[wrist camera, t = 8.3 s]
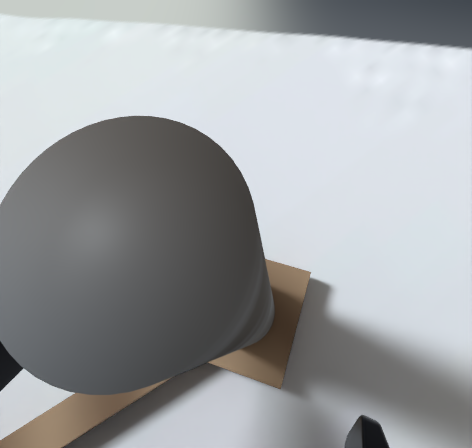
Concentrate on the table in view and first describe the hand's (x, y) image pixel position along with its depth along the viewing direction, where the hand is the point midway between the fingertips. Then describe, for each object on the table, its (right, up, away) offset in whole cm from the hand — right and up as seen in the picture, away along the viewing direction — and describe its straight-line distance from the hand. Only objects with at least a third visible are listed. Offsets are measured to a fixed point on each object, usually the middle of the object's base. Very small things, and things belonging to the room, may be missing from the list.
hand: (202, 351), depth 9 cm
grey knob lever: (-9, -3, +7) cm, 12 cm away
